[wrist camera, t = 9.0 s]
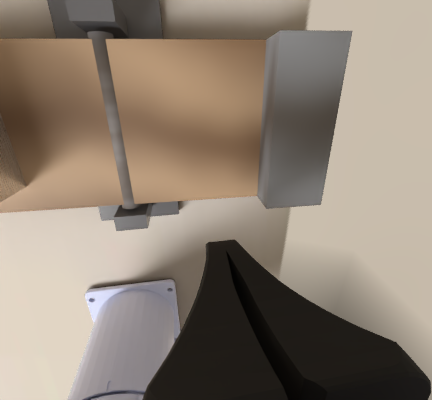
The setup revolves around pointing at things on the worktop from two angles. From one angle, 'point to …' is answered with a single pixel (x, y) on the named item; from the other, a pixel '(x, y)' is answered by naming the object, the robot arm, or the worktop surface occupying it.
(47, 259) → the worktop surface
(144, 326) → the robot arm
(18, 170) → the steel block
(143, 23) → the stand
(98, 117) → the beam
